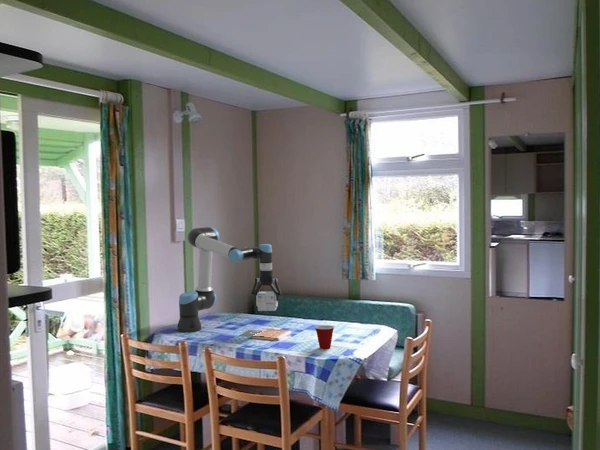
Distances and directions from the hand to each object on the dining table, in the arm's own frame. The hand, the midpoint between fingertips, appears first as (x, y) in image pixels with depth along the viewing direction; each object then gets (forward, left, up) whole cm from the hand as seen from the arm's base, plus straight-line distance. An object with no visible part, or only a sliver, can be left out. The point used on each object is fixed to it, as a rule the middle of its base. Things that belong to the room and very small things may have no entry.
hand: (267, 306), depth 313 cm
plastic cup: (+41, -19, -18) cm, 48 cm away
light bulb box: (0, 0, -3) cm, 3 cm away
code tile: (-6, +1, -17) cm, 19 cm away
